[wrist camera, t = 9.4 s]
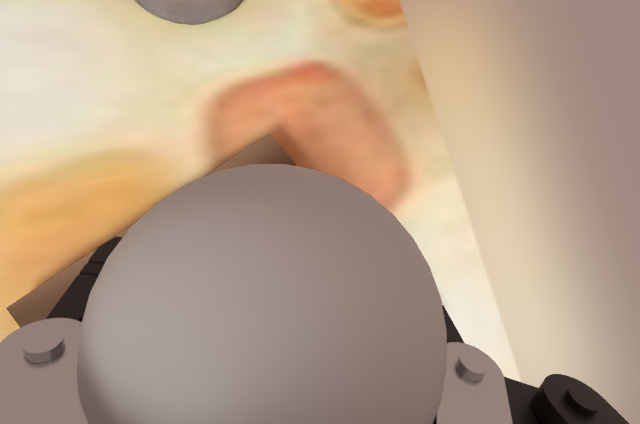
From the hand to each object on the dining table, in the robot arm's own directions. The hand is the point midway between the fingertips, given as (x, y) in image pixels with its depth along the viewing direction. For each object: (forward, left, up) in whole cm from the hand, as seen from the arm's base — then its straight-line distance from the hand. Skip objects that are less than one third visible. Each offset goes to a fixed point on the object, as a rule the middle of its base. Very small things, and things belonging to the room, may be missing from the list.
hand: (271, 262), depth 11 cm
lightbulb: (+1, -1, -5) cm, 5 cm away
